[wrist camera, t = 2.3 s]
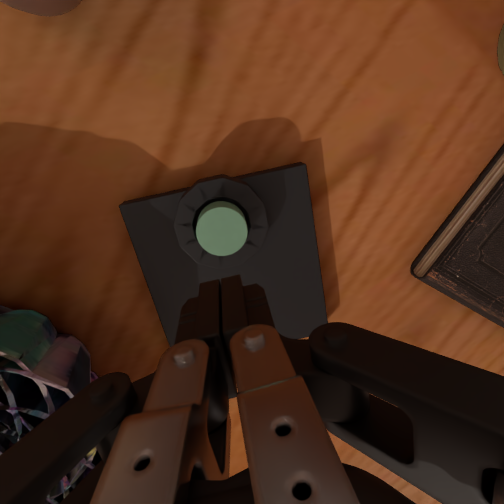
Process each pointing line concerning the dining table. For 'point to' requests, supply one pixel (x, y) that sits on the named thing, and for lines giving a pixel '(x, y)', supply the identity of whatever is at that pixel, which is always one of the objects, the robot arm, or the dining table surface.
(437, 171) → the dining table surface
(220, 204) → the tare button
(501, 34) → the cork
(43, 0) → the plastic bottle
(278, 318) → the dark grey button base
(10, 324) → the decorative bowl
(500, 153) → the hardcover book
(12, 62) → the dining table surface
